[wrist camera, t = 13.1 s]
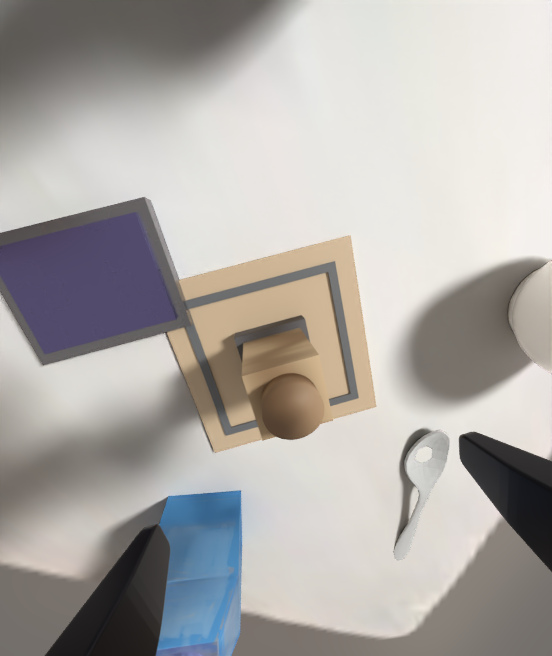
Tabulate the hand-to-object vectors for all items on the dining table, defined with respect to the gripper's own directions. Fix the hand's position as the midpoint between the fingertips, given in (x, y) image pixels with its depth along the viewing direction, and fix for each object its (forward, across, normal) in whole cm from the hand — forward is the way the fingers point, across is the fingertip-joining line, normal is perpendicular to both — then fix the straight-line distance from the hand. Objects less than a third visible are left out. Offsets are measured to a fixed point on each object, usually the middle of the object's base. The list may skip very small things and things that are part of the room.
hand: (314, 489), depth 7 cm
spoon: (+13, -9, +21) cm, 26 cm away
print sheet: (+12, 0, +1) cm, 12 cm away
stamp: (+12, 0, +1) cm, 12 cm away
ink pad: (+12, +10, -7) cm, 17 cm away
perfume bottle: (+12, +10, +15) cm, 22 cm away
